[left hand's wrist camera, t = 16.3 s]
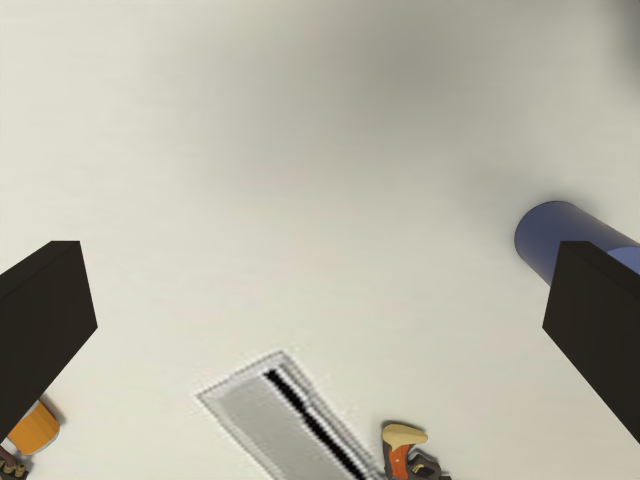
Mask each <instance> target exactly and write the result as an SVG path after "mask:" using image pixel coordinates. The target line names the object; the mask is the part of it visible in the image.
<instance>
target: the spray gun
mask: <svg viewBox="0 0 640 480" xmlns="http://www.w3.org/2000/svg"><path fill="white" fill-rule="evenodd" d="M59 431H60V425H59V424H58V422H57V421H56V420H55V419H54V418H53V416H52V415H51V414H50V413H49V412H48V411H47V409H46V408H45V407H44V406H43V405H42V403H41V402H40V401H39V400H37V401H36V402H35V403H34V404H33V406H32V407H31V408H30V409H29V410H28V412H27V413H26V414H25V415H24V416H23V418H22V419H21V420H20V421H19V422H18V424H17V425H16V426H15V427H14V428H13V430H12V431H11V432H10V433H9V434H8V437H9V438H10V440H11V441H12V442H13V443H14V444H15V446H16V447H17V448H18V449H19V450H20V452H21V453H22V454H23V455H32V454H36V453H39V452H41V451H42V450H44V449H45V448H47V447H48V446H49V445H50V444H51V443H52V442H54V441H55V440H56V438H57V436H58V434H59ZM0 456H1V457H3V458H4V459H5V460H6V461H7V462H6V461H4V460H1V461H0V480H26V478H27V475H28V473H29V472H28V471H26V470H25V468H26V466H25V464H24V463H21V464H19V465H16V462H15V460H14V458H13V456H12V455H11V454H10V453H9V452H7V451H6V450H5V449H4V448H3V447H2V446H1V445H0Z"/></svg>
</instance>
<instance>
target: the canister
mask: <svg viewBox="0 0 640 480" xmlns="http://www.w3.org/2000/svg"><path fill="white" fill-rule="evenodd" d="M560 241H590V242H591V243H593V244H594V245H596V246H597V247H599V248H600V249H602V250H603V251H605V252H606V253H608V254H609V255H611V256H612V257H614V258H615V259H617V260H618V261H620V262H621V263H623V264H624V265H626V266H627V267H629V268H630V269H632V270H633V271H635V272H636V273H638V274H639V275H640V244H639V243H637V242H636V241H634V240H632V239H630V238H629V237H627V236H625V235H624V234H622V233H620V232H618V231H617V230H615V229H613V228H611V227H610V226H608V225H606V224H605V223H603V222H601V221H599V220H598V219H596V218H594V217H593V216H591V215H589V214H587V213H586V212H584V211H582V210H580V209H579V208H577V207H575V206H574V205H572V204H569V203H566V202H561V201H553V202H548V203H544V204H541V205H539V206H537V207H535V208H534V209H532V210H531V211H529V212H528V213H527V214H526V215H525V216H524V217H523V219H522V220H521V221H520V223H519V225H518V227H517V230H516V233H515V247H516V250H517V252H518V254H519V255H520V257H521V258H522V259H523V260H524V261H525V262H526V263H527V264H528V265H529V266H530V267H531V268H532V269H533V270H534V271H535V272H536V273H537V274H538V275H539V276H540V277H541V278H542V279H543V280H544V281H545V282H546V283H547V284H548V285H549V286H550V287H551V283H552V278H553V274H554V269H555V264H556V259H557V255H558V250H559V245H560Z"/></svg>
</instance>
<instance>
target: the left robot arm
mask: <svg viewBox="0 0 640 480" xmlns="http://www.w3.org/2000/svg"><path fill="white" fill-rule="evenodd" d="M97 328H98V326H97V321H96V317H95V312H94V307H93V302H92V297H91V293H90V288H89V283H88V278H87V274H86V269H85V264H84V259H83V255H82V250H81V245H80V241H50V242H49V243H47V244H46V245H44V246H43V247H41V248H40V249H38V250H37V251H35V252H34V253H32V254H31V255H29V256H28V257H26V258H25V259H23V260H22V261H20V262H19V263H17V264H16V265H14V266H13V267H11V268H10V269H8V270H7V271H5V272H4V273H2V274H1V275H0V444H1V443H2V442H3V440H4V439H5V438H6V437H7V436H8V434H9V433H10V432H11V431H12V430H13V428H14V427H15V426H16V425H17V424H18V422H19V421H20V420H21V419H22V418H23V416H24V415H25V414H26V413H27V412H28V410H29V409H30V408H31V407H32V406H33V404H34V403H35V402H36V401H37V400H38V399H39V397H40V396H41V395H42V394H43V393H44V391H45V390H46V389H47V388H48V387H49V385H50V384H51V383H52V382H53V381H54V379H55V378H56V377H57V376H58V375H59V373H60V372H61V371H62V370H63V369H64V367H65V366H66V365H67V364H68V363H69V361H70V360H71V359H72V358H73V357H74V355H75V354H76V353H77V352H78V351H79V349H80V348H81V347H82V346H83V345H84V343H85V342H86V341H87V340H88V339H89V338H90V336H91V335H92V334H93V333H94V332H95V330H96V329H97ZM542 328H543V329H544V330H545V332H546V333H547V334H548V335H549V336H550V338H551V339H552V340H553V341H554V342H555V343H556V345H557V346H558V347H559V348H560V349H561V351H562V352H563V353H564V354H565V355H566V357H567V358H568V359H569V360H570V361H571V363H572V364H573V365H574V366H575V367H576V369H577V370H578V371H579V372H580V373H581V375H582V376H583V377H584V378H585V379H586V381H587V382H588V383H589V384H590V385H591V387H592V388H593V389H594V390H595V391H596V393H597V394H598V395H599V396H600V397H601V399H602V400H603V401H604V402H605V403H606V404H607V406H608V407H609V408H610V409H611V410H612V412H613V413H614V414H615V415H616V416H617V418H618V419H619V420H620V421H621V422H622V424H623V425H624V426H625V427H626V428H627V430H628V431H629V432H630V433H631V434H632V436H633V437H634V438H635V439H636V440H637V442H638V443H639V444H640V275H639V274H638V273H636V272H635V271H633V270H632V269H630V268H629V267H627V266H626V265H624V264H623V263H621V262H620V261H618V260H617V259H615V258H614V257H612V256H611V255H609V254H608V253H606V252H605V251H603V250H602V249H600V248H599V247H597V246H596V245H594V244H593V243H591V242H590V241H560V245H559V250H558V255H557V259H556V264H555V269H554V274H553V278H552V283H551V288H550V293H549V297H548V302H547V307H546V312H545V317H544V321H543V326H542Z"/></svg>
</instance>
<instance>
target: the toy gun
mask: <svg viewBox="0 0 640 480" xmlns="http://www.w3.org/2000/svg"><path fill="white" fill-rule="evenodd" d="M382 438H383V453H384V458H385V468H384V469H385V472H386V475H387V478H388V480H452V479H451V477H450V476H440V474H441V468H440V466H439V464H438V463H435V462H432V461H429V460H427V459H426V458H424V457H423V456H421V455H420V454H417V455H416V456H415V457H414V458H413V459H412V460H411V461H410V462H407V456H408V453H409V451H410V450H411V448H412V447H413V446H414V445H415V444H417V443H425V442H426V441H427V439H428V436H427V435H426V434H425V433H424V432H421V431H419V430H416V429H414V428H411V427H408V426H404V425H398V424H390V425H388V426H386V427H385V428H384V429H383V431H382ZM418 463H419V464H418ZM416 464H417V465H416ZM415 465H416V466H415ZM424 465H425V466H426V467H428V468H430V469H432V470H431V471H430V472H428V473H425V472H421V471H418V469H419V468H420V467H424ZM415 468H416V469H415Z"/></svg>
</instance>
